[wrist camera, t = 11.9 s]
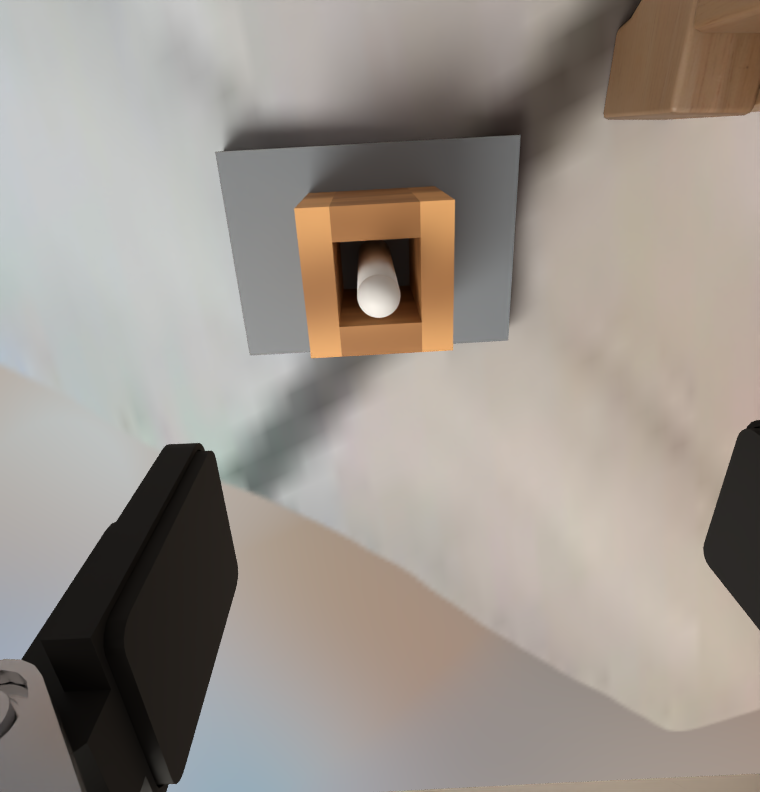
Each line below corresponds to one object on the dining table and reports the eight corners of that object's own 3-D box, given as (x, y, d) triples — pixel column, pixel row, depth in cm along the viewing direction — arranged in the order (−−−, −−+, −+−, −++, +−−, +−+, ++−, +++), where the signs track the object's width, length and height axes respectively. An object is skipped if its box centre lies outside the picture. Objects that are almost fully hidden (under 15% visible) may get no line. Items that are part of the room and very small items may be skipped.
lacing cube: (308, 192, 25) (293, 208, 20) (434, 186, 25) (455, 199, 20) (320, 314, 28) (311, 358, 22) (435, 308, 28) (452, 350, 22)
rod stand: (222, 151, 25) (147, 158, 16) (512, 135, 26) (594, 134, 17) (254, 345, 30) (209, 435, 21) (501, 331, 30) (561, 414, 21)
